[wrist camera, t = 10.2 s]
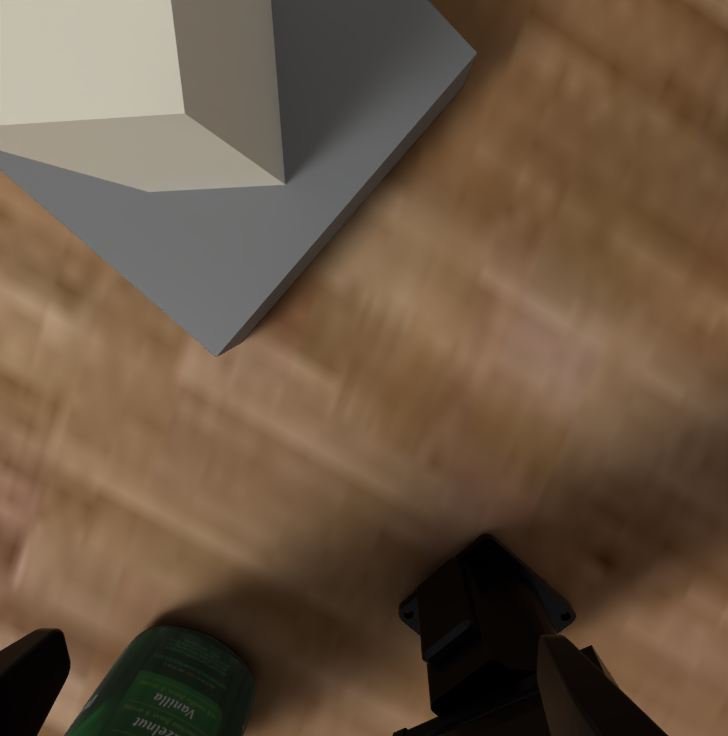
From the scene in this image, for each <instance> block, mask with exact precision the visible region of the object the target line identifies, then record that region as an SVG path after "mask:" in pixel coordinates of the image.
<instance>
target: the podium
mask: <svg viewBox="0 0 728 736" xmlns="http://www.w3.org/2000/svg"><path fill="white" fill-rule="evenodd" d="M271 7H272V20H273V33H274V46H275V59H276V71H277V84H278V97H279V110H280V123H281V136H282V149H283V162H284V175H285V185H272V186H253V187H234V188H215V189H197V190H178V191H159V192H147V191H144V190H140V189H136V188H133V187H129V186H126V185H122V184H118V183H115V182H111V181H108V180H104V179H100V178H97V177H93V176H90V175H86V174H82V173H79V172H75V171H72V170H68V169H64V168H61V167H57V166H54V165H50V164H46V163H43V162H39V161H36V160H32V159H28V158H25V157H21V156H18V155H14V154H10V153H7V152H3V151H0V170H1V171H2V172H3V173H5V174H6V175H7V176H8V177H9V178H10V179H11V180H13V181H14V182H15V183H16V184H17V185H18V186H20V187H21V188H22V189H23V190H24V191H25V192H26V193H28V194H29V195H30V196H31V197H32V198H33V199H34V200H36V201H37V202H38V203H39V204H40V205H41V206H43V207H44V208H45V209H46V210H47V211H48V212H49V213H51V214H52V215H53V216H54V217H55V218H56V219H57V220H59V221H60V222H61V223H62V224H63V225H64V226H66V227H67V228H68V229H69V230H70V231H71V232H72V233H74V234H75V235H76V236H77V237H78V238H79V239H80V240H82V241H83V242H84V243H85V244H86V245H87V246H89V247H90V248H91V249H92V250H93V251H94V252H95V253H97V254H98V255H99V256H100V257H101V258H102V259H103V260H105V261H106V262H107V263H108V264H109V265H110V266H112V267H113V268H114V269H115V270H116V271H117V272H118V273H120V274H121V275H122V276H123V277H124V278H125V279H126V280H128V281H129V282H130V283H131V284H132V285H133V286H135V287H136V288H137V289H138V290H139V291H140V292H141V293H143V294H144V295H145V296H146V297H147V298H148V299H149V300H151V301H152V302H153V303H154V304H155V305H156V306H158V307H159V308H160V309H161V310H162V311H163V312H164V313H166V314H167V315H168V316H169V317H170V318H171V319H172V320H174V321H175V322H176V323H177V324H178V325H179V326H181V327H182V328H183V329H184V330H185V331H186V332H187V333H189V334H190V335H191V336H192V337H193V338H194V339H196V340H197V341H198V342H199V343H200V344H201V345H202V346H204V347H205V348H206V349H207V350H208V351H209V352H210V353H212V354H213V355H214V356H215V357H218V356H219V355H221V354H223V353H225V352H226V351H228V350H230V349H232V348H233V347H235V346H237V345H239V344H240V343H241V342H242V341H243V340H244V339H245V338H246V337H247V336H248V334H249V333H250V332H251V331H252V330H253V329H254V327H255V326H256V325H257V324H258V323H259V322H260V321H261V319H262V318H263V317H264V316H265V315H266V314H267V312H268V311H269V310H270V309H271V308H272V307H273V306H274V304H275V303H276V302H277V301H278V300H279V299H280V297H281V296H282V295H283V294H284V293H285V292H286V290H287V289H288V288H289V287H290V286H291V285H292V284H293V282H294V281H295V280H296V279H297V278H298V277H299V275H300V274H301V273H302V272H303V271H304V270H305V269H306V267H307V266H308V265H309V264H310V263H311V262H312V260H313V259H314V258H315V257H316V256H317V255H318V254H319V252H320V251H321V250H322V249H323V248H324V247H325V245H326V244H327V243H328V242H329V241H330V240H331V239H332V237H333V236H334V235H335V234H336V233H337V232H338V230H339V229H340V228H341V227H342V226H343V225H344V224H345V222H346V221H347V220H348V219H349V218H350V217H351V215H352V214H353V213H354V212H355V211H356V210H357V209H358V207H359V206H360V205H361V204H362V203H363V202H364V200H365V199H366V198H367V197H368V196H369V195H370V194H371V192H372V191H373V190H374V189H375V188H376V187H377V185H378V184H379V183H380V182H381V181H382V180H383V179H384V177H385V176H386V175H387V174H388V173H389V172H390V170H391V169H392V168H393V167H394V166H395V165H396V164H397V162H398V161H399V160H400V159H401V158H402V157H403V155H404V154H405V153H406V152H407V151H408V150H409V148H410V147H411V146H412V145H413V144H414V143H415V142H416V140H417V139H418V138H419V137H420V136H421V135H422V133H423V132H424V131H425V130H426V129H427V128H428V127H429V125H430V124H431V123H432V122H433V121H434V120H435V118H436V117H437V116H438V115H439V114H440V113H441V112H442V110H443V109H444V108H445V107H446V106H447V105H448V103H449V102H450V101H451V100H452V99H453V98H454V97H455V95H456V94H457V93H458V92H459V91H460V90H461V88H462V87H463V85H464V83H465V80H466V78H467V76H468V73H469V71H470V69H471V66H472V64H473V62H474V59H475V57H476V54H477V52H476V51H475V50H474V49H473V48H472V47H471V46H470V45H469V43H468V42H467V41H466V40H465V39H464V38H463V37H462V36H461V35H460V34H459V33H458V32H457V31H456V29H455V28H454V27H453V26H452V25H451V24H450V23H449V22H448V21H447V20H446V19H445V18H444V17H443V15H442V14H441V13H440V12H439V11H438V10H437V9H436V8H435V7H434V6H433V5H432V4H431V3H430V1H429V0H271Z"/></svg>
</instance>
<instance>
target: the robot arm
mask: <svg viewBox="0 0 728 736" xmlns="http://www.w3.org/2000/svg"><path fill="white" fill-rule="evenodd" d="M487 543H490V544H492V545H491V546H490V547H484V545H485V544H487ZM406 611H412V612H411V613H406ZM564 612H567V613H566V614H562V613H564ZM399 617H400V619H401V620H402V621H403V622H404V623H406V624H407V625H408V626H409V627H410V628H412V629H413V630H414V631H415V632H416V633H418V634H419V635H420V638H421V650H422V659H423V661H425V662H426V663H427V673H428V684H429V695H430V706H431V710H432V711H433V712H434V713H435V714H436V715H437V716H438V717H436V718H433V719H431V720H429V721H427V722H424V723H422V724H420V725H418V726H415V727H413V728H411V729H409V730H408V729H407V728H403V729H401V730H399V731H397V732H394V733H393V736H668V735H667V734H666V733H665V732H664V731H663V730H662V729H661V728H660V727H659V726H658V725H657V724H656V723H655V722H654V721H653V720H651V719H650V718H649V717H648V716H647V715H646V714H645V713H644V712H643V711H642V710H641V709H640V708H639V707H638V706H637V705H636V704H635V703H634V702H633V701H632V700H631V699H630V698H629V697H628V696H627V695H626V694H624V693H623V692H622V691H621V690H620V688H619V687H618V685H617V684H616V682H615V681H614V679H613V677H612V676H611V674H610V673H609V671H608V670H607V668H606V667H605V665H604V663H603V662H602V660H601V659H600V657H599V656H598V654H597V653H596V651H595V649H594V648H593V646H592V645H590V646H588V647H586V648H584V649H581V650H579V649H578V648H577V647H576V646H575V645H574V644H573V643H572V642H570V641H569V640H568V639H567V638H566V637H565V636H563V635H557V634H558V633H559V632H560V631H562V630H563V629H564V628H566V627H567V626H568V625H570V624H571V623H572V622H573V621H574V620H575V618H576V614H575V612H574V610H573V608H572V606H571V605H570V604H569V603H568V602H567V601H566V600H565V599H564V598H562V597H561V596H560V595H559V594H558V593H557V592H556V591H555V590H553V589H552V588H551V587H550V586H549V585H548V584H547V583H546V582H545V581H543V580H542V579H541V578H540V577H539V576H538V575H537V574H536V573H534V572H533V571H532V570H531V569H530V568H529V567H528V566H527V565H526V564H524V563H523V562H522V561H521V560H520V559H519V558H518V557H517V556H515V555H514V554H513V553H512V552H511V551H510V550H509V549H508V548H506V547H505V546H504V545H503V544H502V543H501V542H500V541H499V540H498V539H496V538H495V537H494V536H492V535H491V534H483V535H481V536H480V537H478V538H477V539H476V540H475V541H474V542H473V543H471V544H470V545H469V546H468V547H467V548H465V549H464V550H463V551H462V552H461V553H460V554H458V555H457V556H456V557H455V558H452V559H450V560H449V561H447V562H446V563H445V564H444V565H443V566H442V567H440V568H439V569H438V570H437V571H436V572H435V573H433V574H432V575H431V576H430V577H429V578H428V579H426V580H425V581H424V582H423V583H422V584H420V585H419V586H418V587H417V590H416V591H415V592H414V593H413V594H411V595H410V596H409V597H408V598H407V599H406V600H404V601H403V602H402V603H401V604H400V606H399ZM69 671H70V658H69V653H68V649H67V645H66V641H65V637H64V633H63V632H62V631H61V630H60V629H57V628H41V629H37V630H35V631H33V632H31V633H30V634H28V635H26V636H25V637H23V638H21V639H20V640H18V641H16V642H15V643H13V644H11V645H9V646H8V647H6V648H4V649H3V650H1V651H0V736H37V735H38V733H39V731H40V729H41V727H42V725H43V723H44V721H45V719H46V717H47V716H48V714H49V712H50V710H51V708H52V706H53V704H54V702H55V700H56V698H57V696H58V695H59V693H60V691H61V689H62V687H63V685H64V683H65V681H66V679H67V677H68V674H69Z"/></svg>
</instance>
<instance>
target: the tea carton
mask: <svg viewBox="0 0 728 736" xmlns="http://www.w3.org/2000/svg"><path fill="white" fill-rule="evenodd" d="M0 151H3V152H7V153H10V154H14V155H18V156H21V157H25V158H28V159H32V160H36V161H39V162H43V163H46V164H50V165H54V166H57V167H61V168H64V169H68V170H72V171H75V172H79V173H82V174H86V175H90V176H93V177H97V178H100V179H104V180H108V181H111V182H115V183H118V184H122V185H126V186H129V187H133V188H136V189H140V190H144V191H147V192H159V191H178V190H197V189H215V188H234V187H253V186H272V185H285V175H284V162H283V149H282V136H281V123H280V110H279V97H278V84H277V71H276V59H275V46H274V33H273V20H272V7H271V0H0Z"/></svg>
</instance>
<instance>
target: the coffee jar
mask: <svg viewBox="0 0 728 736" xmlns="http://www.w3.org/2000/svg"><path fill="white" fill-rule="evenodd" d="M255 691H256V690H255V681H254V678H253V676H252V674H251V671H250V670H249V668H248V667H247V665H246V664H245V663H244V662H243V661H242V660H241V659H240V658H239V657H238V656H236V655H235V654H234V653H233V651H232V650H231V649H229V648H228V647H226V646H225V645H223V644H222V643H221V642H219V641H217V640H216V639H214V638H213V637H210V636H208V635H205V634H203V633H201V632H198V631H195V630H190V629H186V628H182V627H177V626H156V627H152V628H149V629H147V630H145V631H144V632H142V633H141V634H139V635H138V636H137V637H136V638H135V639H134V640H133V641H132V642H131V643H130V644H129V645H128V647H127V648H126V649H125V650H124V651H123V653H122V654H121V655H120V657H119V658H118V659H117V661H116V662H115V664H114V665H113V667H112V668H111V669H110V671H109V672H108V674H107V675H106V676H105V678H104V679H103V681H102V682H101V683H100V685H99V686H98V688H97V689H96V690H95V692H94V693H93V695H92V696H91V698H90V699H89V700H88V702H87V703H86V705H85V706H84V707H83V709H82V710H81V712H80V713H79V715H78V716H77V718H76V719H75V721H74V722H73V723H72V725H71V726H70V728H69V729H68V731H67V732H66V734H65V735H64V736H243V734H244V731H245V728H246V725H247V722H248V719H249V715H250V712H251V709H252V706H253V703H254V699H255Z"/></svg>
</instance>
